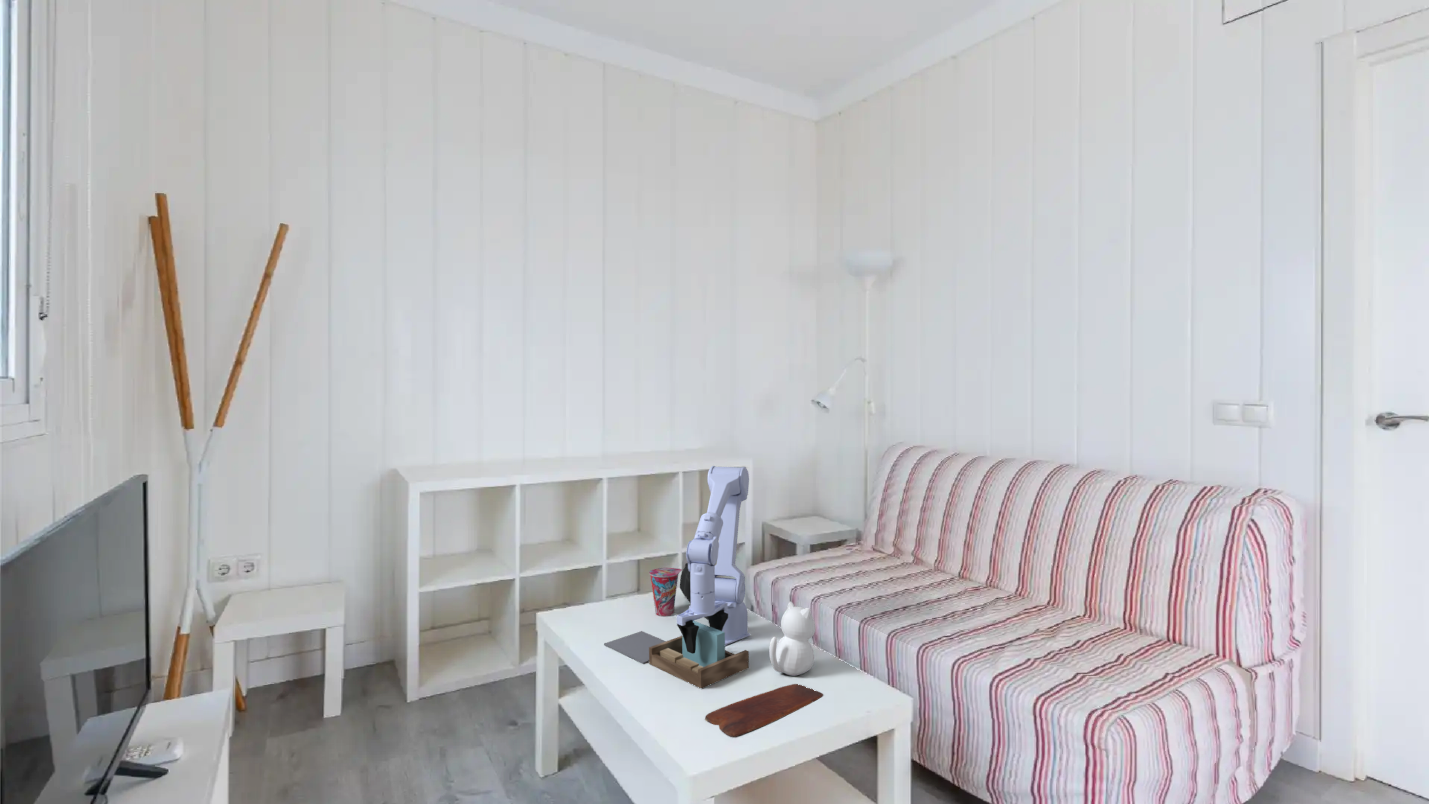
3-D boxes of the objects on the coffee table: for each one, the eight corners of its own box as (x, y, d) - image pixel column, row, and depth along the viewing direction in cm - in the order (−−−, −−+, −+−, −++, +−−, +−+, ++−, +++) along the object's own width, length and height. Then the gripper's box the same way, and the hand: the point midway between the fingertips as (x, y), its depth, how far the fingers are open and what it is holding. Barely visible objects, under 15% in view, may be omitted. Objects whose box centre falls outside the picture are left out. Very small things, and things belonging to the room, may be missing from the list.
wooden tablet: (733, 743, 131) (733, 734, 131) (701, 722, 139) (701, 713, 139) (830, 699, 148) (830, 692, 148) (796, 683, 156) (796, 675, 156)
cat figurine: (825, 671, 161) (825, 606, 160) (785, 685, 153) (785, 617, 153) (797, 658, 168) (798, 596, 167) (758, 671, 160) (758, 606, 160)
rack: (696, 646, 175) (696, 630, 175) (748, 668, 162) (748, 651, 162) (649, 664, 165) (649, 647, 165) (701, 688, 152) (700, 670, 152)
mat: (641, 632, 185) (641, 630, 185) (681, 649, 173) (681, 648, 173) (604, 645, 176) (604, 643, 176) (643, 664, 165) (643, 662, 165)
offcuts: (668, 660, 167) (667, 648, 167) (711, 680, 156) (711, 667, 156) (659, 663, 165) (659, 651, 165) (703, 683, 154) (703, 670, 154)
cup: (667, 620, 193) (667, 577, 193) (643, 615, 198) (643, 573, 197) (687, 610, 201) (686, 569, 200) (663, 605, 206) (663, 565, 205)
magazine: (731, 598, 185) (693, 540, 211) (720, 599, 183) (683, 542, 210) (724, 652, 190) (688, 589, 216) (713, 654, 189) (678, 591, 215)
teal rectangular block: (690, 655, 170) (689, 619, 169) (725, 670, 161) (724, 632, 161) (682, 658, 168) (682, 621, 168) (717, 674, 159) (716, 635, 159)
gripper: (713, 580, 172) (713, 634, 172) (667, 593, 162) (668, 651, 162) (733, 586, 167) (734, 642, 167) (688, 600, 157) (688, 660, 157)
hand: (703, 647), depth 164 cm, fingers open, 7 cm apart
